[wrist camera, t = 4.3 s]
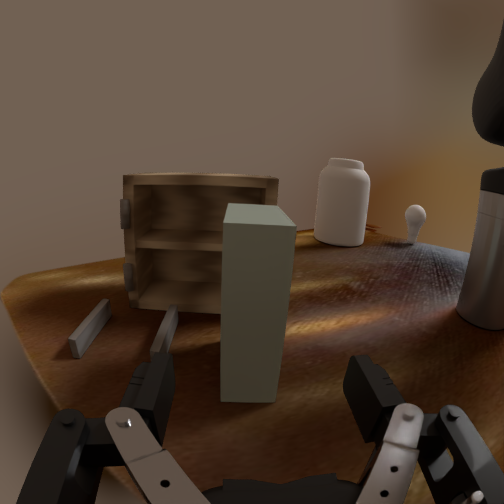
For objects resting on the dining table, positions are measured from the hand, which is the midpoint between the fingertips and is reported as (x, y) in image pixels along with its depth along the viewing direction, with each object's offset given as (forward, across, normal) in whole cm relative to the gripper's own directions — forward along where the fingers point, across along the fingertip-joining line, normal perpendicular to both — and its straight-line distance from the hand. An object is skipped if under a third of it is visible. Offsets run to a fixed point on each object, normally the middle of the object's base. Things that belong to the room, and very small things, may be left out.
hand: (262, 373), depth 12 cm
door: (+10, 0, +8) cm, 12 cm away
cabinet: (+18, +7, +8) cm, 21 cm away
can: (+58, -24, +8) cm, 63 cm away
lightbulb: (+59, -47, +8) cm, 76 cm away
